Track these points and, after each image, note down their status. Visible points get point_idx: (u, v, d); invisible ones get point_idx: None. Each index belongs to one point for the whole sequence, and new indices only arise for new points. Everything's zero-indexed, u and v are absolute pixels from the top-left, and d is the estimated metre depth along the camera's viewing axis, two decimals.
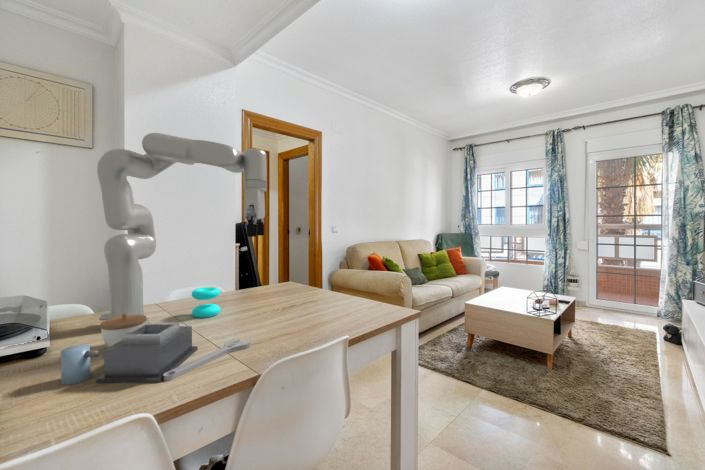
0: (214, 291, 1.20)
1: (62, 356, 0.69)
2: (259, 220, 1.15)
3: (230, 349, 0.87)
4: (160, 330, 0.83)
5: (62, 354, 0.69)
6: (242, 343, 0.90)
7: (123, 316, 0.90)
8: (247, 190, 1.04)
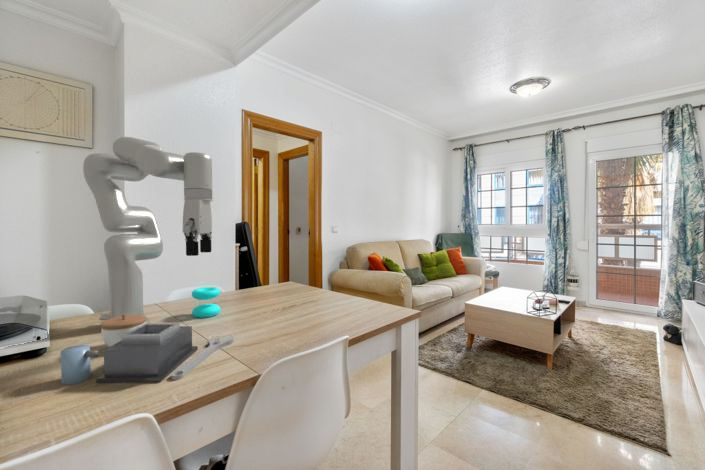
0: (214, 291, 1.20)
1: (62, 356, 0.69)
2: (205, 235, 0.99)
3: (218, 346, 0.89)
4: (160, 330, 0.83)
5: (62, 354, 0.69)
6: (226, 339, 0.93)
7: (123, 316, 0.90)
8: (186, 201, 0.89)
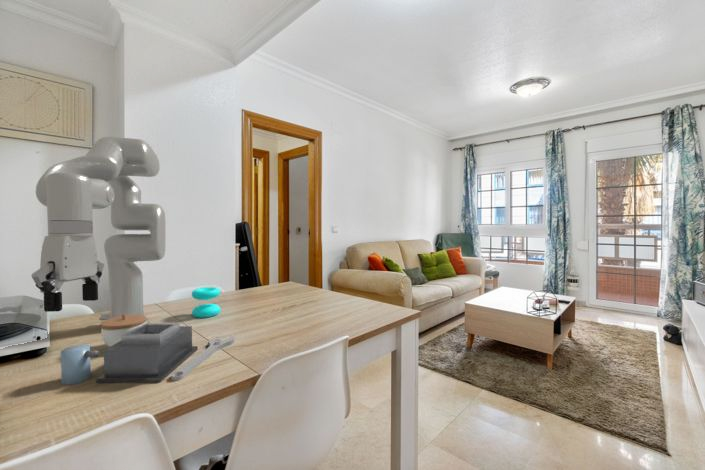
0: (214, 291, 1.20)
1: (62, 356, 0.69)
2: (91, 277, 0.76)
3: (219, 346, 0.89)
4: (160, 330, 0.83)
5: (62, 354, 0.69)
6: (227, 340, 0.93)
7: (123, 316, 0.90)
8: (46, 238, 0.66)
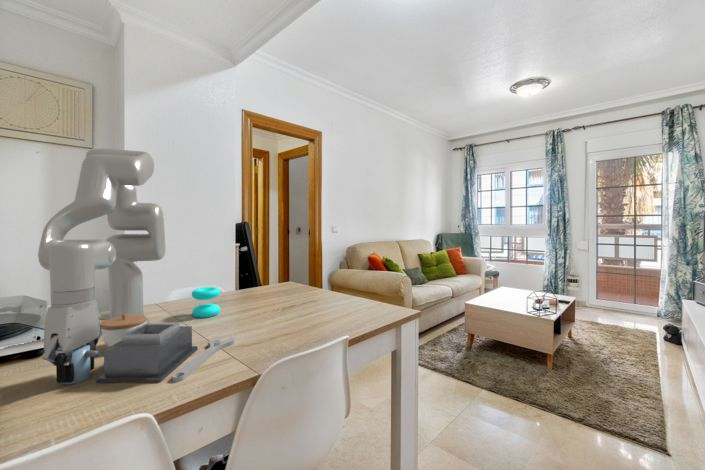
0: (214, 291, 1.20)
1: (62, 356, 0.69)
2: None
3: (219, 347, 0.88)
4: (160, 330, 0.83)
5: (62, 354, 0.69)
6: (227, 340, 0.92)
7: (123, 316, 0.90)
8: (49, 310, 0.67)
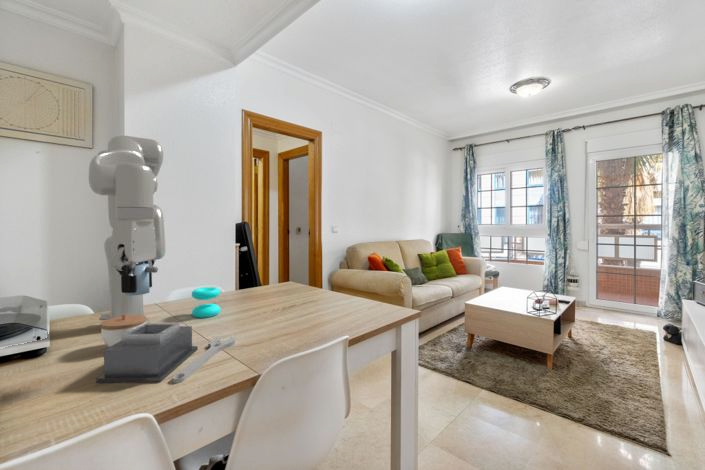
0: (214, 291, 1.20)
1: None
2: None
3: (219, 348, 0.88)
4: (160, 330, 0.83)
5: None
6: (227, 341, 0.92)
7: (123, 316, 0.90)
8: (116, 223, 0.72)
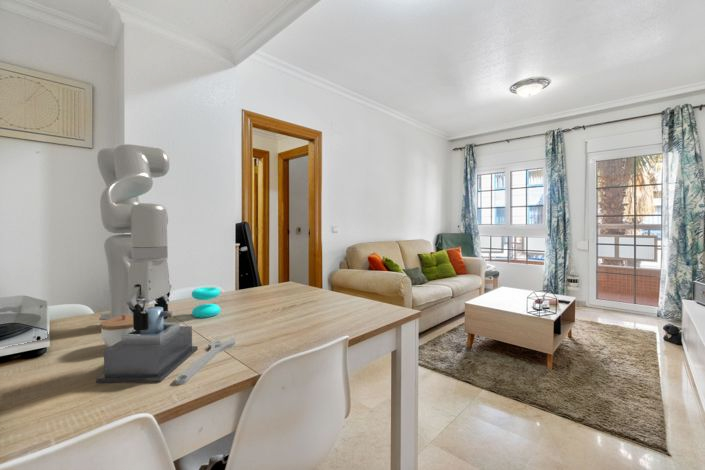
0: (214, 291, 1.20)
1: None
2: (161, 298, 0.84)
3: (220, 349, 0.87)
4: None
5: None
6: (228, 342, 0.91)
7: (123, 316, 0.90)
8: (132, 263, 0.74)
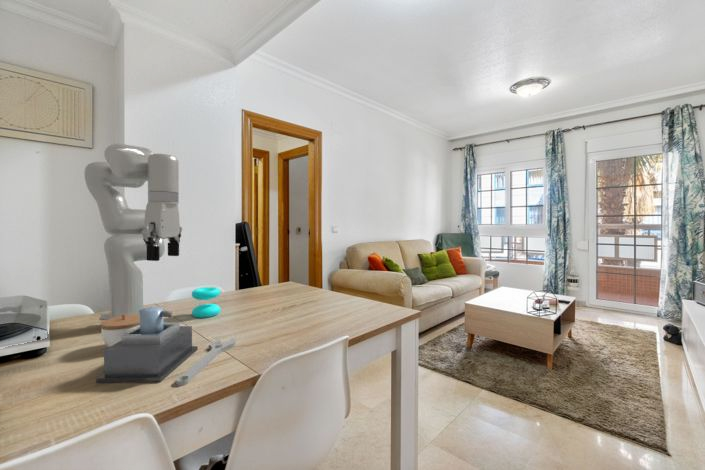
0: (214, 291, 1.20)
1: (141, 315, 0.77)
2: (173, 238, 0.96)
3: (221, 349, 0.87)
4: None
5: (141, 313, 0.77)
6: (228, 342, 0.91)
7: (123, 316, 0.90)
8: (148, 204, 0.86)
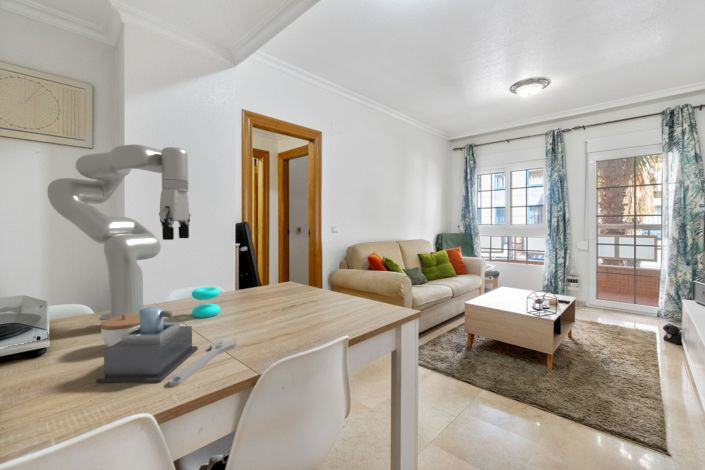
0: (214, 291, 1.20)
1: (141, 315, 0.77)
2: (184, 222, 1.09)
3: (220, 350, 0.86)
4: None
5: (141, 313, 0.77)
6: (229, 343, 0.90)
7: (123, 316, 0.90)
8: (163, 191, 0.99)
